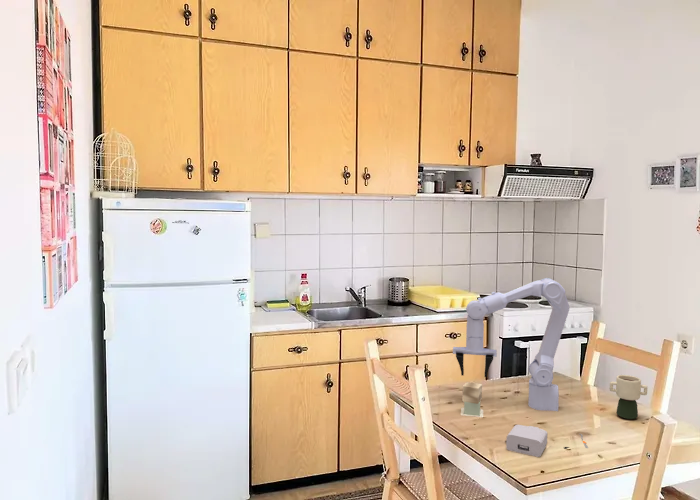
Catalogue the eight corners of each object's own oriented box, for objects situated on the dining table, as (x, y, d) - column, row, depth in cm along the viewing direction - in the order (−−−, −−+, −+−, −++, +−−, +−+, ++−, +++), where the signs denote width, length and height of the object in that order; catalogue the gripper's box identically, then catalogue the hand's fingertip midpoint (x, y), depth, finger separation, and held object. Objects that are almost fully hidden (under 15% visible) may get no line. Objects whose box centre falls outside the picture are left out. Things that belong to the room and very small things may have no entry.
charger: (551, 439, 159) (540, 458, 146) (519, 432, 163) (506, 450, 150) (551, 423, 158) (541, 441, 145) (519, 416, 163) (506, 433, 150)
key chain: (559, 432, 164) (559, 429, 164) (585, 435, 161) (585, 433, 161) (561, 449, 152) (561, 446, 152) (590, 453, 149) (590, 450, 149)
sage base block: (480, 410, 178) (480, 398, 177) (479, 415, 173) (480, 403, 173) (464, 408, 179) (464, 397, 179) (463, 414, 174) (464, 402, 174)
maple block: (481, 399, 177) (482, 384, 176) (477, 403, 172) (478, 388, 172) (466, 396, 179) (466, 381, 179) (462, 401, 174) (462, 386, 174)
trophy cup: (644, 415, 177) (646, 376, 177) (647, 423, 171) (649, 383, 170) (607, 411, 181) (609, 373, 181) (609, 418, 175) (611, 378, 174)
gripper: (496, 335, 186) (495, 373, 187) (453, 332, 190) (453, 370, 191) (497, 339, 179) (496, 379, 180) (452, 336, 183) (451, 376, 184)
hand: (474, 375), depth 185 cm, fingers open, 7 cm apart
